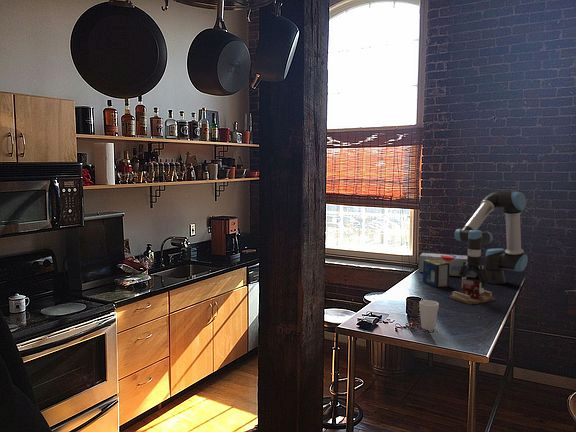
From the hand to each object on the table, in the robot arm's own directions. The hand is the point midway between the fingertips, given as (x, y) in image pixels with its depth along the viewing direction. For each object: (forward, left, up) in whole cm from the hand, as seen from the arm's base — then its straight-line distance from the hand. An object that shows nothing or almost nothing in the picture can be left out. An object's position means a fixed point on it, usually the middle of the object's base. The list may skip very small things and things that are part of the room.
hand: (472, 290), depth 294 cm
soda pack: (-36, -56, -6) cm, 67 cm away
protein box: (-6, -37, -6) cm, 38 cm away
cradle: (0, 0, -6) cm, 6 cm away
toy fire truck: (0, 0, -4) cm, 4 cm away
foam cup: (+60, +27, -6) cm, 66 cm away
